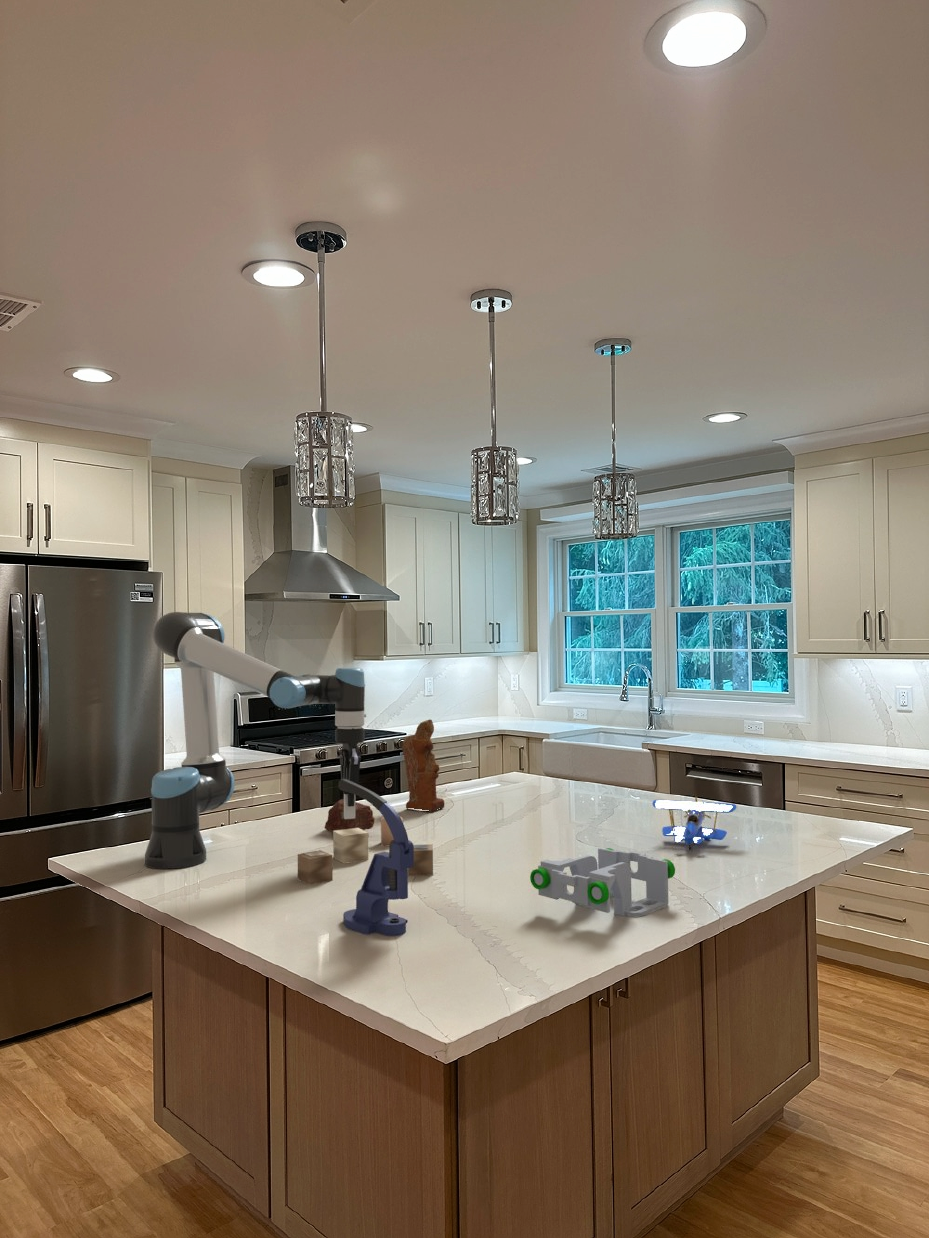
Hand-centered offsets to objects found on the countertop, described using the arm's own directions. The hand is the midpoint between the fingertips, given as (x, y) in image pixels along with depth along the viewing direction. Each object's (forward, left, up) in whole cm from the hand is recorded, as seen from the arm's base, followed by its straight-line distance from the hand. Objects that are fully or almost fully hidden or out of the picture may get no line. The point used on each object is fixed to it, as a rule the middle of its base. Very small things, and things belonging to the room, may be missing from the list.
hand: (349, 818), depth 224 cm
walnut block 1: (-13, -16, -11) cm, 23 cm away
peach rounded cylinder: (+15, +12, -10) cm, 22 cm away
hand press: (-10, -54, -11) cm, 56 cm away
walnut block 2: (+12, -20, -11) cm, 26 cm away
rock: (+7, +31, -11) cm, 33 cm away
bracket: (+37, -63, -11) cm, 74 cm away
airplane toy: (+89, -25, -11) cm, 93 cm away
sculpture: (+40, +54, -11) cm, 68 cm away
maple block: (0, 0, -11) cm, 11 cm away
